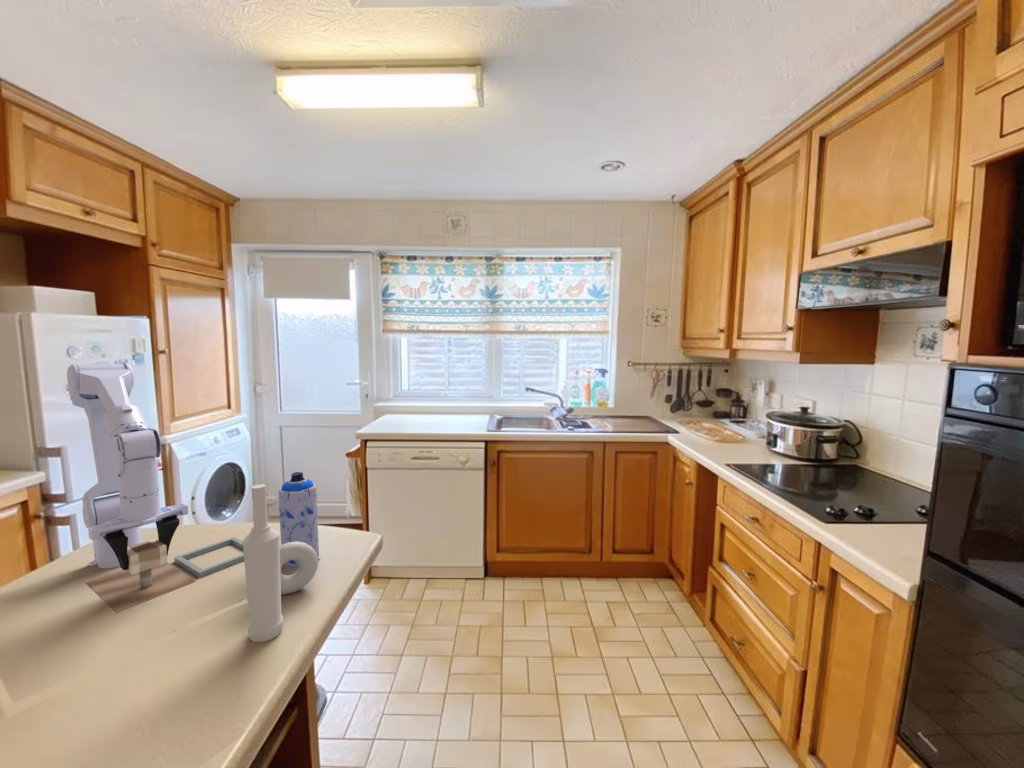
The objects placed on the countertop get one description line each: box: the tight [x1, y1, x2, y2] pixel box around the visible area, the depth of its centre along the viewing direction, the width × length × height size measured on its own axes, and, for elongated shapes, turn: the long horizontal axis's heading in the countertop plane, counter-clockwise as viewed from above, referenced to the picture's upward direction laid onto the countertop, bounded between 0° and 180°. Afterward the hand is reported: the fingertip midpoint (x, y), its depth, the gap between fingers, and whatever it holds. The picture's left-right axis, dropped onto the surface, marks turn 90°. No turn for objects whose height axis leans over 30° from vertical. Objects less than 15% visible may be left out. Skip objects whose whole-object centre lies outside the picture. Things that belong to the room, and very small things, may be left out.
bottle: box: [242, 483, 284, 643], centre depth 70 cm, size 5×5×25 cm
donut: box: [280, 541, 319, 595], centre depth 83 cm, size 10×4×10 cm, turn 127°
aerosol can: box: [278, 471, 320, 569], centre depth 95 cm, size 8×8×20 cm
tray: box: [173, 536, 244, 579], centre depth 95 cm, size 12×12×2 cm
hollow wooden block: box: [127, 538, 169, 575], centre depth 83 cm, size 5×5×4 cm
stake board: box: [84, 562, 197, 613], centre depth 85 cm, size 18×12×6 cm, turn 57°
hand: (144, 561), depth 83 cm, fingers closed on hollow wooden block, 5 cm apart
